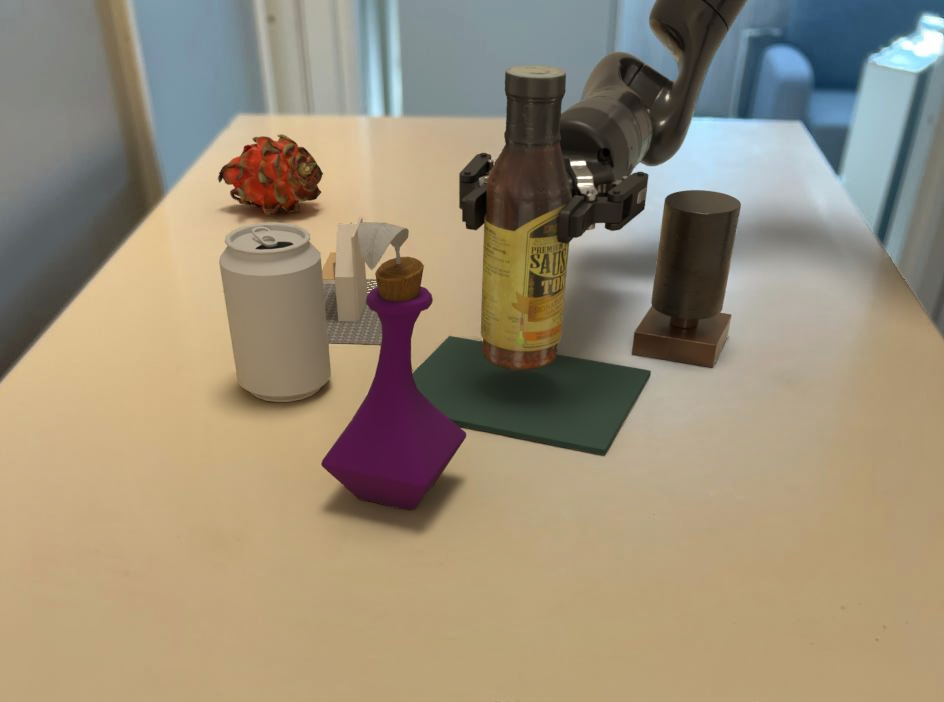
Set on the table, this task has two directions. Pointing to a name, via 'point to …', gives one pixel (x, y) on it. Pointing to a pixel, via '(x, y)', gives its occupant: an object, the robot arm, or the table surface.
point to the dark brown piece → (690, 279)
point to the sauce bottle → (526, 226)
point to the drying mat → (531, 396)
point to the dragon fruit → (273, 175)
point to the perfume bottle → (394, 392)
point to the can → (276, 311)
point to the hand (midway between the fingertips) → (516, 221)
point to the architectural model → (349, 292)
